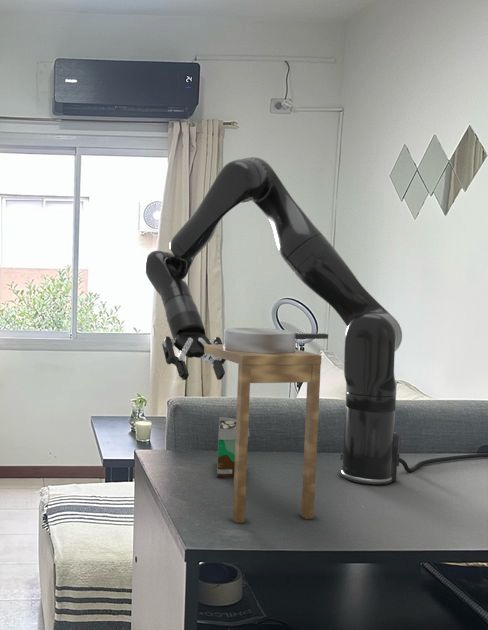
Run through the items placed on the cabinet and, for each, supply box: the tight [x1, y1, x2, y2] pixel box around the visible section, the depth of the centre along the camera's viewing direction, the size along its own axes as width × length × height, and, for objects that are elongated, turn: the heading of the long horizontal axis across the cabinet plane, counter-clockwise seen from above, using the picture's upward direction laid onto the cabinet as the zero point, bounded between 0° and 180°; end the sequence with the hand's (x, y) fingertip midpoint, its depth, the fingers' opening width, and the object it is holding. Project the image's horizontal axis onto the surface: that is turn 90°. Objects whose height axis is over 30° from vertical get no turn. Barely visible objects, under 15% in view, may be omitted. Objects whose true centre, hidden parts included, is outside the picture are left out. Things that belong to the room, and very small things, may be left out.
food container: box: [216, 416, 251, 479], centre depth 151 cm, size 12×6×10 cm, turn 168°
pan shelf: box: [204, 327, 329, 524], centre depth 130 cm, size 20×16×31 cm
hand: (203, 377), depth 163 cm, fingers open, 8 cm apart
